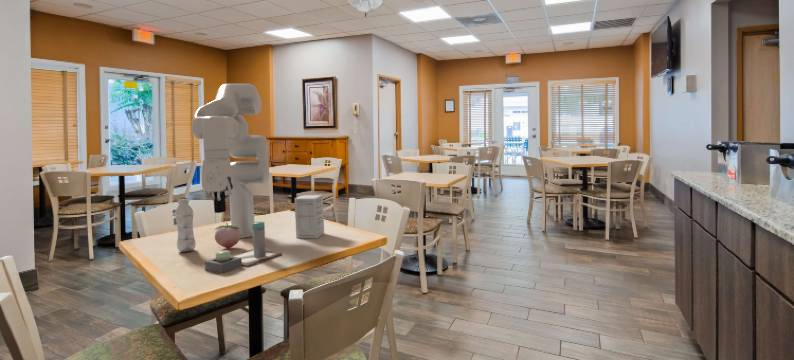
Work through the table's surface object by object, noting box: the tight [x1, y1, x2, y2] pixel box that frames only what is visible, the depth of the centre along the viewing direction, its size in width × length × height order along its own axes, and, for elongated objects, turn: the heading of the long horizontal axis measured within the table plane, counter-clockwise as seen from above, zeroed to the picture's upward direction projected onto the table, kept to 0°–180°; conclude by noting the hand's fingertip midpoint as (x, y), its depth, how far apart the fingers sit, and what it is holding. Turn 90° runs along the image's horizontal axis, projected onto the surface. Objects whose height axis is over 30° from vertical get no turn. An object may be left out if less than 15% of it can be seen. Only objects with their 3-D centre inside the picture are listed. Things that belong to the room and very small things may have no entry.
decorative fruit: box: [214, 223, 241, 250], centre depth 174 cm, size 9×8×10 cm
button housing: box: [204, 255, 243, 275], centre depth 150 cm, size 8×8×3 cm
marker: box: [252, 221, 267, 258], centre depth 160 cm, size 4×4×12 cm
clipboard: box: [232, 248, 283, 268], centre depth 161 cm, size 14×16×1 cm
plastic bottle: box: [174, 197, 197, 253], centre depth 170 cm, size 6×7×20 cm
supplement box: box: [294, 194, 325, 239], centre depth 192 cm, size 10×9×17 cm
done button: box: [215, 249, 231, 262], centre depth 149 cm, size 4×4×2 cm
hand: (220, 212), depth 147 cm, fingers closed
